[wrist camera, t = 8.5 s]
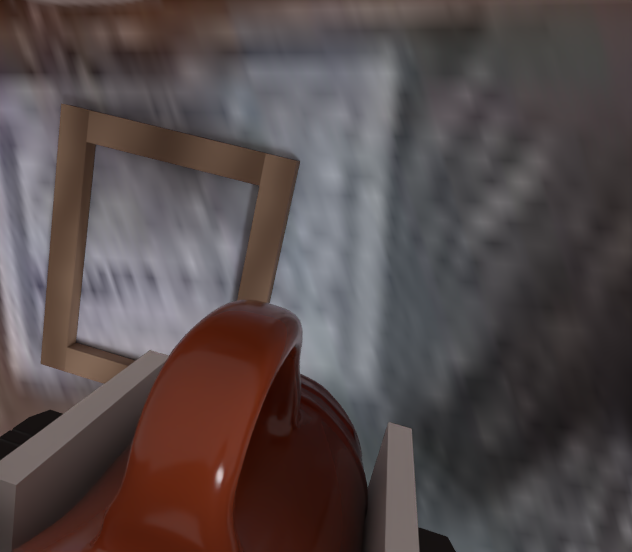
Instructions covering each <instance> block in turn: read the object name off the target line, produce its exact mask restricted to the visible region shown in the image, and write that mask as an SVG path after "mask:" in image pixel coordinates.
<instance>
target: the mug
mask: <svg viewBox="0 0 632 552" xmlns="http://www.w3.org/2000/svg"><path fill="white" fill-rule="evenodd" d="M301 347H302V326H301V322H300V320H299V319H298V317H297V316H296V315H295V314H294V313H292V312H291V311H289V310H287V309H284V308H282V307H279V306H276V305H273V304H269V303H266V302H262V301H257V300H238V301H234V302H230V303H227V304H225V305H223V306H221V307H219V308H218V309H216V310H214V311H213V312H211V313H210V314H209V315H207V316H206V317H205V318H203V319H202V320H201V321H200V322H199V323H197V324H196V325H195V326H194V327H193V328H192V329H191V330H190V331H189V332H188V333H187V334H186V335H185V336H184V337H183V338H182V339H181V341H180V342H179V343H178V344H177V345H176V347H175V348H174V349H173V351H172V352H171V354H170V355H169V357H168V358H167V360H166V361H165V363H164V365H163V366H162V368H161V370H160V372H159V374H158V376H157V378H156V380H155V382H154V384H153V386H152V388H151V390H150V393H149V395H148V397H147V400H146V402H145V404H144V407H143V410H142V413H141V415H140V418H139V421H138V424H137V427H136V430H135V434H134V437H133V441H132V442H131V443H130V444H129V445H128V446H127V447H126V448H125V449H124V451H123V452H122V453H121V454H120V455H119V456H118V457H117V459H116V460H115V461H114V462H113V463H112V464H111V466H110V467H109V468H108V469H107V470H106V472H105V473H104V474H103V475H102V476H101V477H100V479H99V480H98V481H97V482H96V483H95V484H94V486H93V487H92V488H91V489H90V490H89V491H88V492H87V493H86V494H85V496H84V497H83V498H82V499H81V500H80V501H79V502H78V503H77V504H76V505H75V506H74V507H73V508H72V509H71V510H69V511H68V512H67V513H66V514H65V515H64V516H62V517H61V518H60V519H59V520H57V521H56V522H55V523H54V524H52V525H51V526H50V527H48V528H47V529H45V530H44V531H42V532H41V533H39V534H38V535H36V536H35V537H33V538H32V539H30V540H28V541H27V542H25V543H24V544H22V545H21V546H19V547H17V548H16V549H14V550H12V551H11V552H362V547H363V536H364V524H365V519H366V515H367V510H368V489H367V482H366V477H365V473H364V468H363V462H362V452H361V447H360V442H359V439H358V436H357V433H356V431H355V428H354V426H353V424H352V422H351V420H350V419H349V417H348V415H347V414H346V412H345V411H344V409H343V408H342V407H341V405H340V404H339V403H338V402H337V400H336V399H335V398H334V397H333V396H332V395H331V394H330V393H329V392H328V391H327V390H326V389H325V388H324V387H323V386H322V385H320V384H319V383H317V382H316V381H314V380H312V379H310V378H308V377H306V376H304V375H302V374H300V354H301Z"/></svg>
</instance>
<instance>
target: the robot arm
mask: <svg viewBox="0 0 632 552" xmlns="http://www.w3.org/2000/svg"><path fill="white" fill-rule="evenodd" d="M168 357H169V356H168V355H164V354H161V353H158V352H154V351H151V350H150V351H148V352H147V353H146V354H144V355H143V356H141V357H140V358H139V359H137V360H136V361H135V362H133V363H132V364H131V365H129V366H128V367H127V368H125V369H124V370H122V371H121V372H120V373H118V374H117V375H116V376H114V377H113V378H112V379H110V380H109V381H108V382H106V383H105V384H103V385H102V386H101V387H99V388H98V389H97V390H95V391H94V392H93V393H91V394H90V395H89V396H87V397H86V398H84V399H83V400H82V401H80V402H79V403H78V404H76V405H75V406H74V407H72V408H71V409H70V410H68V411H67V412H65V413H64V414H62V413H59V412H56V411H53V410H48V411H45V412H42V413H40V414H37V415H34V416H31V417H29V418H27V419H26V420H25V421H23V422H22V423H20V424H19V425H17V426H16V427H14V428H13V430H12V431H8V432H7V433H5V434H4V435H2V436H1V437H0V552H11V551H12V550H14V549H16V548H17V547H19V546H21V545H22V544H24V543H25V542H27V541H28V540H30V539H32V538H33V537H35V536H36V535H38V534H39V533H41V532H42V531H44V530H45V529H47V528H48V527H50V526H51V525H52V524H54V523H55V522H56V521H57V520H59V519H60V518H61V517H62V516H64V515H65V514H66V513H67V512H68V511H69V510H71V509H72V508H73V507H74V506H75V505H76V504H77V503H78V502H79V501H80V500H81V499H82V498H83V497H84V496H85V494H86V493H87V492H88V491H89V490H90V489H91V488H92V487H93V486H94V484H95V483H96V482H97V481H98V480H99V479H100V477H101V476H102V475H103V474H104V473H105V472H106V470H107V469H108V468H109V467H110V466H111V464H112V463H113V462H114V461H115V460H116V459H117V457H118V456H119V455H120V454H121V453H122V452H123V451H124V449H125V448H126V447H127V446H128V445H129V444H130V443H131V442H132V441H133V437H134V434H135V430H136V427H137V424H138V421H139V418H140V415H141V413H142V410H143V407H144V404H145V402H146V400H147V397H148V395H149V393H150V390H151V388H152V386H153V384H154V382H155V380H156V378H157V376H158V374H159V372H160V370H161V368H162V366H163V365H164V363H165V361H166V360H167V358H168ZM362 552H456V551H455V549H454V548H453V546H452V544H451V542H450V540H449V539H448V537H446V536H443V535H440V534H437V533H434V532H431V531H428V530H425V529H422V528H419V527H418V521H417V505H416V489H415V473H414V458H413V442H412V429H410V428H407V427H404V426H401V425H397V424H394V423H391V422H388V425H387V428H386V431H385V435H384V438H383V441H382V444H381V447H380V451H379V454H378V457H377V460H376V464H375V467H374V470H373V473H372V476H371V480H370V483H369V486H368V510H367V515H366V519H365V524H364V536H363V547H362Z"/></svg>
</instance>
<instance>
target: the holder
mask: <svg viewBox="0 0 632 552" xmlns="http://www.w3.org/2000/svg"><path fill="white" fill-rule="evenodd" d="M96 144H97V145H101V146H105V147H108V148H112V149H116V150H120V151H124V152H128V153H132V154H136V155H140V156H144V157H148V158H152V159H156V160H160V161H164V162H168V163H172V164H176V165H180V166H184V167H188V168H192V169H196V170H200V171H204V172H207V173H211V174H215V175H219V176H223V177H227V178H231V179H235V180H239V181H243V182H247V183H251V184H255V185H259V191H258V196H257V202H256V207H255V212H254V217H253V222H252V227H251V232H250V237H249V242H248V247H247V252H246V258H245V263H244V268H243V273H242V278H241V283H240V288H239V293H238V298H237V301H238V300H257V301H262V302H266V303H270V298H271V293H272V289H273V284H274V280H275V275H276V270H277V266H278V261H279V257H280V252H281V247H282V243H283V238H284V233H285V229H286V224H287V220H288V215H289V210H290V206H291V201H292V196H293V192H294V187H295V183H296V178H297V173H298V169H299V164H300V161H296V160H292V159H288V158H284V157H280V156H276V155H272V154H268V153H263V152H259V151H255V150H251V149H247V148H243V147H239V146H235V145H231V144H227V143H223V142H218V141H214V140H210V139H206V138H202V137H198V136H194V135H190V134H186V133H182V132H178V131H173V130H169V129H165V128H161V127H157V126H153V125H149V124H145V123H141V122H137V121H133V120H128V119H124V118H120V117H116V116H112V115H108V114H104V113H100V112H96V111H92V110H88V109H83V108H79V107H75V106H71V105H66V104H61V116H60V128H59V141H58V153H57V166H56V178H55V191H54V203H53V216H52V228H51V241H50V253H49V266H48V279H47V291H46V304H45V316H44V329H43V341H42V354H41V364H43V365H46V366H49V367H52V368H56V369H59V370H62V371H65V372H68V373H72V374H75V375H78V376H81V377H85V378H88V379H91V380H94V381H97V382H101V383H104V384H105V383H106V382H108V381H109V380H110V379H112V378H113V377H114V376H116V375H117V374H118V373H120V372H121V371H122V370H124V369H125V368H127V367H128V366H129V365H131V364H132V363H133V362H135V360H132V359H129V358H125V357H122V356H119V355H115V354H112V353H109V352H106V351H102V350H99V349H96V348H92V347H89V346H86V345H83V344H79V343H76V336H77V326H78V316H79V306H80V296H81V286H82V277H83V267H84V257H85V247H86V237H87V227H88V217H89V207H90V197H91V187H92V177H93V167H94V157H95V147H96Z"/></svg>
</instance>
